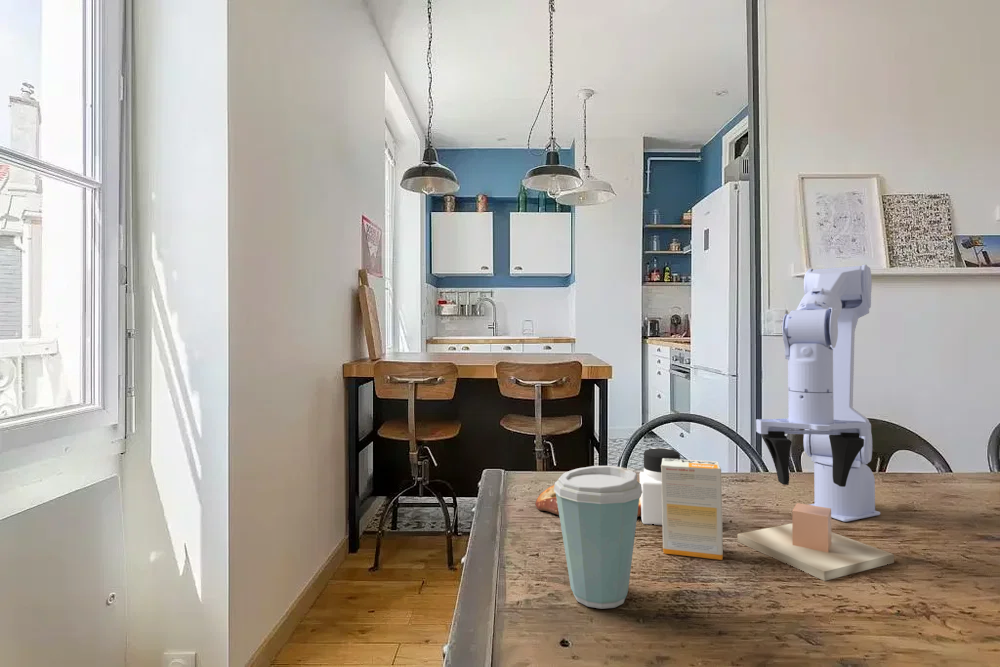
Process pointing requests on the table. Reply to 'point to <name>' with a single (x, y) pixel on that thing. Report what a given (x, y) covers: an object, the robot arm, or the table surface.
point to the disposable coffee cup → (598, 531)
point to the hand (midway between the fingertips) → (811, 483)
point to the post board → (816, 553)
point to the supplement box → (692, 508)
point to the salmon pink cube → (811, 527)
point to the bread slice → (549, 502)
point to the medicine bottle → (653, 484)
